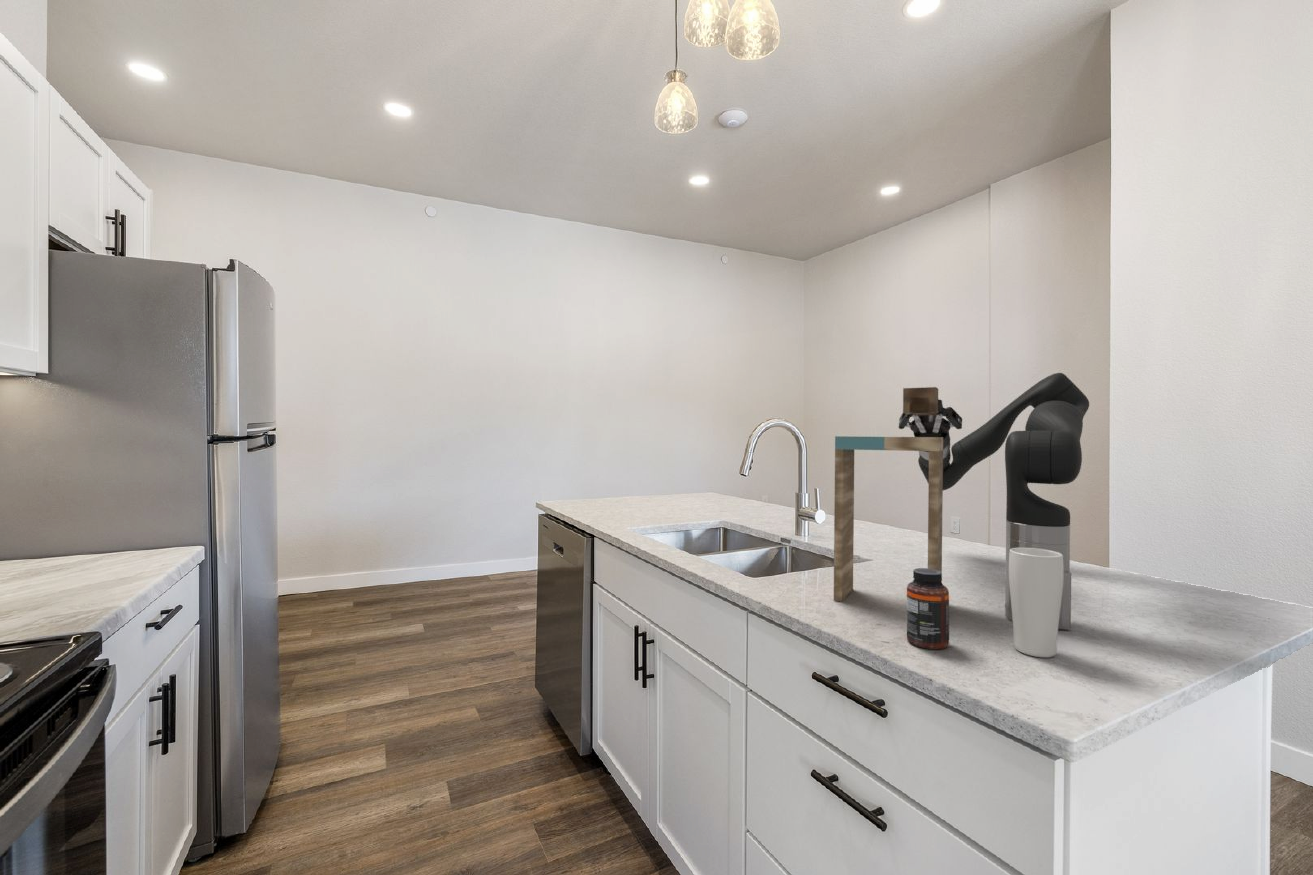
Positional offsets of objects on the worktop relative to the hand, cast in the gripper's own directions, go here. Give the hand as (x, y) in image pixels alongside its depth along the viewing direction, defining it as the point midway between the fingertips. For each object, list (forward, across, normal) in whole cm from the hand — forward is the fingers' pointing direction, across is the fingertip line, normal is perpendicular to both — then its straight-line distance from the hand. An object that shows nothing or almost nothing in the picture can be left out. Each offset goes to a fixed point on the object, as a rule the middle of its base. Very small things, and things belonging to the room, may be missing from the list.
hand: (925, 401), depth 122 cm
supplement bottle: (+14, -4, -55) cm, 57 cm away
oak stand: (-3, +4, -44) cm, 45 cm away
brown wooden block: (+1, 0, -4) cm, 4 cm away
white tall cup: (+10, -18, -52) cm, 56 cm away
